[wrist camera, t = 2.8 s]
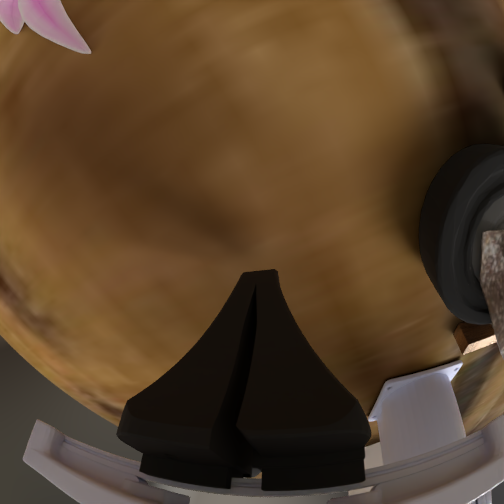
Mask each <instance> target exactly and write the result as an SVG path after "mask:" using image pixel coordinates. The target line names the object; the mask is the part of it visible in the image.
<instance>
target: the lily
mask: <svg viewBox="0 0 504 504" xmlns="http://www.w3.org/2000/svg"><path fill="white" fill-rule="evenodd" d="M0 21H1V22H2V23H3V24H4V26H5V27H6V28H7V29H8V30H10V31H11V32H12V33H14V34H19V32H20V30H21V29H22V26H23V24H24V22H25V23H26V24H27V25H28V26H29V28H30V29H32V30H33V31H35V32H36V33H38V34H39V35H41V36H42V37H44V38H47V39H49V40H51V41H53V42H55V43H56V44H59V45H61V46H64V47H66V48H69V49H71V50H73V51H76V52H79V53H82V54H91V50H90V49H89V47H88V45H87V44H86V42H85V41H84V39H83V38H82V37H81V35H80V34H79V32H78V31H77V29H76V28H75V26H74V25H73V23H72V22H71V20H70V19H69V17H68V16H67V14H66V12H65V9H64V7H63V5H62V3H61V1H60V0H0Z"/></svg>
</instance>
